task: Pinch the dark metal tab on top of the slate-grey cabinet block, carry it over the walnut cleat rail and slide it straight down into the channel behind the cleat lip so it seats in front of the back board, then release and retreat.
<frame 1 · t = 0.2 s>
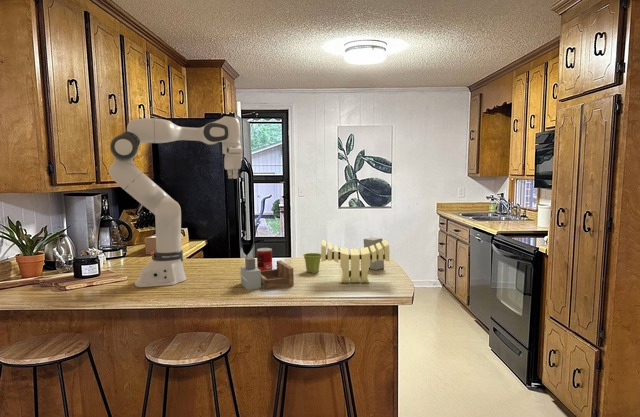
hand: (232, 178, 200), 47 cm above the table, tool pointing down, fingers open, 8 cm apart
cabinet block: (250, 286, 181), on the table
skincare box: (373, 268, 211), on the table
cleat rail: (278, 282, 186), on the table
bread basket: (354, 280, 189), on the table
plant pot: (312, 271, 206), on the table
canned food: (264, 270, 210), on the table
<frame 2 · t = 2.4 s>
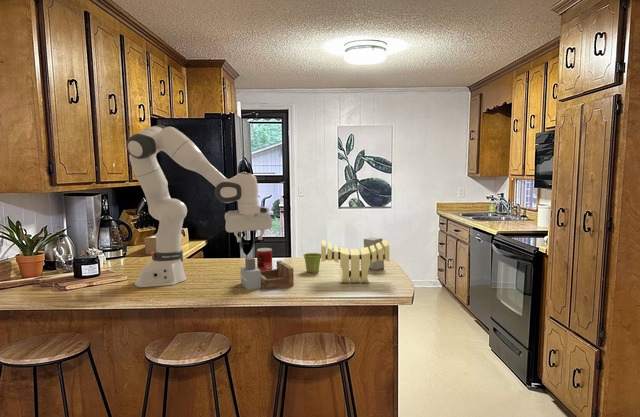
hand: (249, 240, 179), 20 cm above the table, tool pointing down, fingers open, 8 cm apart
nothing on the table moved.
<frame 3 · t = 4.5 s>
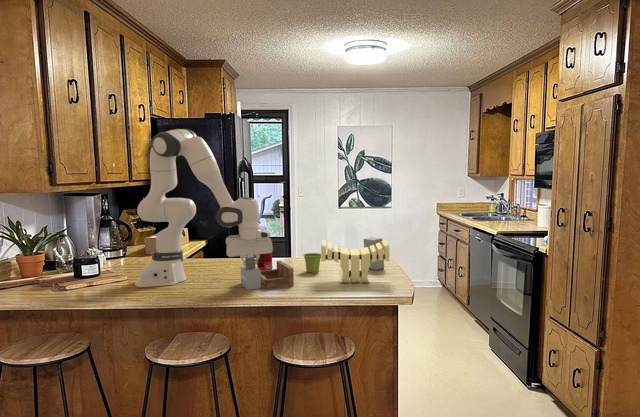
hand: (250, 264, 180), 9 cm above the table, tool pointing down, fingers closed on cabinet block, 3 cm apart
cabinet block: (250, 285, 181), on the table, touching gripper
everything else where it was.
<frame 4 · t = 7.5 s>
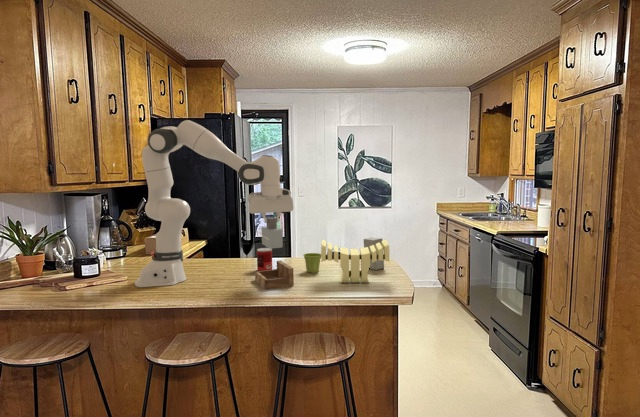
hand: (271, 222, 183), 28 cm above the table, tool pointing down, fingers closed on cabinet block, 3 cm apart
cabinet block: (272, 245, 184), point 17 cm above the table, touching gripper
everything else where it was.
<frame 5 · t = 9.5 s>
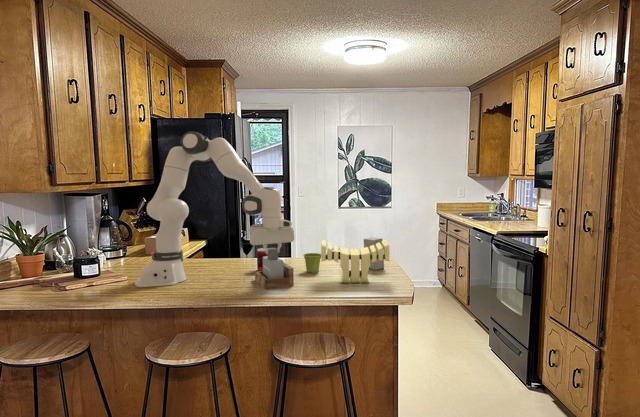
hand: (272, 253, 185), 14 cm above the table, tool pointing down, fingers closed on cabinet block, 3 cm apart
cabinet block: (273, 275, 186), point 3 cm above the table, touching gripper
everything else where it was.
when the fingers open (11 cm above the table, at t = 10.9 s): cabinet block stays where it is, resting in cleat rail.
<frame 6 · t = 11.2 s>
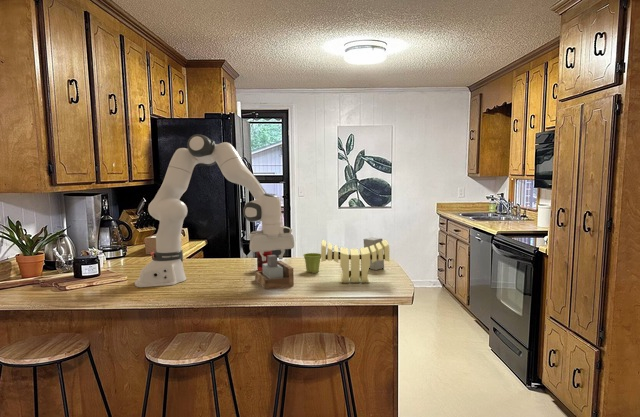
hand: (272, 260, 184), 11 cm above the table, tool pointing down, fingers open, 6 cm apart
cabinet block: (272, 283, 186), resting in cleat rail
everything else where it was.
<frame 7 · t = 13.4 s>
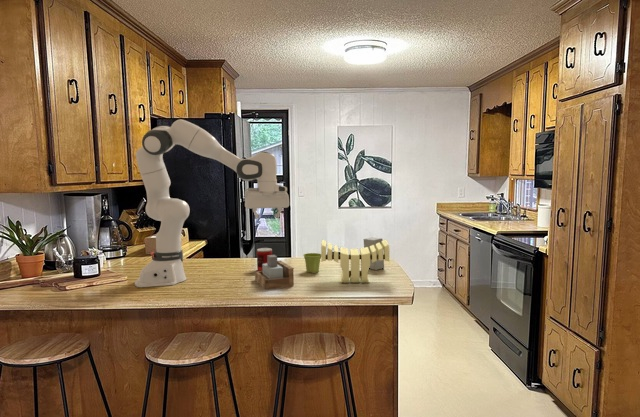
hand: (267, 218, 186), 29 cm above the table, tool pointing down, fingers open, 8 cm apart
nothing on the table moved.
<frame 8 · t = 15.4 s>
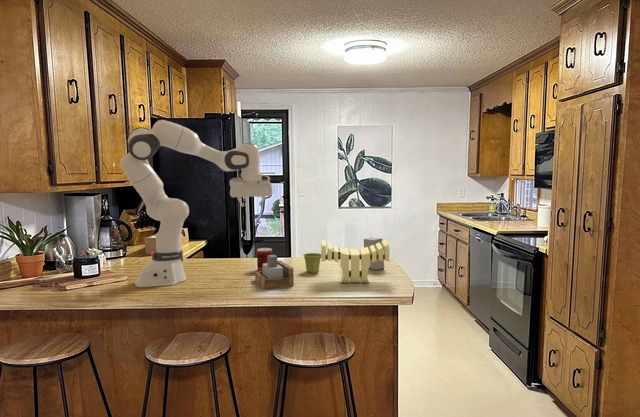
hand: (251, 206, 197), 34 cm above the table, tool pointing down, fingers open, 8 cm apart
nothing on the table moved.
at the end: cabinet block 0.3 cm from the target spot on the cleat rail, point 0.0 cm above the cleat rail's base; cabinet block tilted 0°; the gripper is holding nothing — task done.
